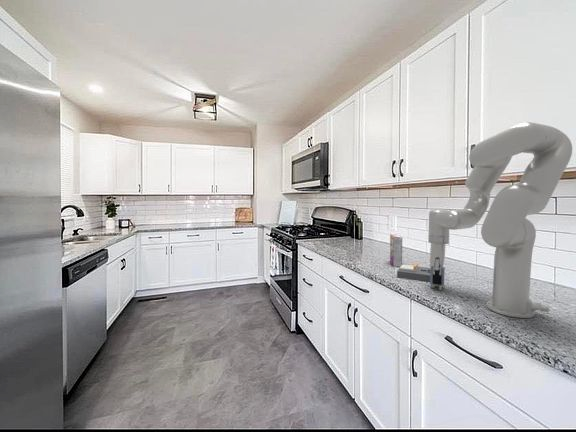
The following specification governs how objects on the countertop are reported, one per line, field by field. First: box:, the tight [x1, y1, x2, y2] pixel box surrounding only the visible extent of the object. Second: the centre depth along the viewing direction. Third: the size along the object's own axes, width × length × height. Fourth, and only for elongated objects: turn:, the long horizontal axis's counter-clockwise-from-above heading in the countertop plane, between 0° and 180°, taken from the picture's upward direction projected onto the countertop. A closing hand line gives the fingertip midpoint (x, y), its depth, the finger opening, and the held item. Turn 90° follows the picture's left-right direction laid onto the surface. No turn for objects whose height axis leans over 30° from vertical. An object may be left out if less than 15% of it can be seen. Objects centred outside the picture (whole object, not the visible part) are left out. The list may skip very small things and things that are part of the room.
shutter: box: [399, 262, 419, 271], centre depth 134 cm, size 7×8×2 cm
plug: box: [429, 265, 446, 291], centre depth 115 cm, size 5×4×8 cm
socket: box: [396, 266, 431, 283], centre depth 132 cm, size 16×14×3 cm
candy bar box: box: [389, 233, 403, 268], centre depth 153 cm, size 11×5×16 cm, turn 168°
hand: (437, 282), depth 115 cm, fingers closed on plug, 4 cm apart
